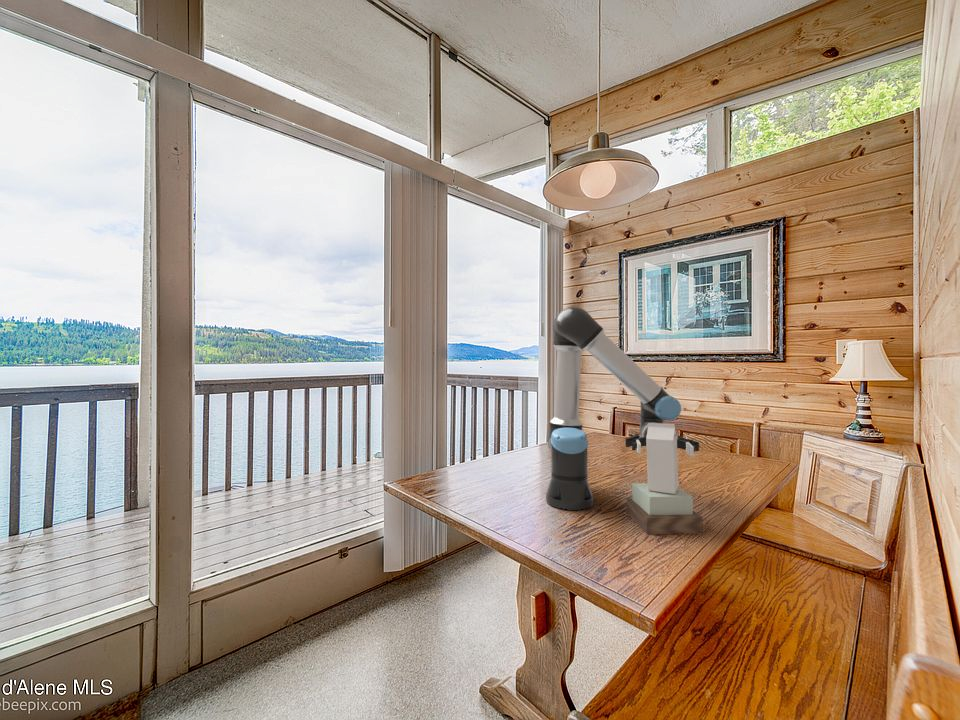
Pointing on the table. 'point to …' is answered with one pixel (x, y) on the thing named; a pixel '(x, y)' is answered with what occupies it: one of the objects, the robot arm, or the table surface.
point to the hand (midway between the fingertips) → (665, 450)
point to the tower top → (662, 501)
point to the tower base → (664, 521)
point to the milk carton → (662, 458)
